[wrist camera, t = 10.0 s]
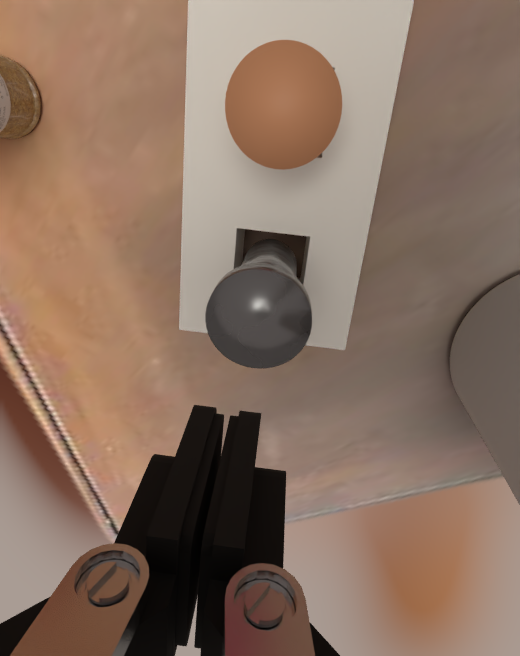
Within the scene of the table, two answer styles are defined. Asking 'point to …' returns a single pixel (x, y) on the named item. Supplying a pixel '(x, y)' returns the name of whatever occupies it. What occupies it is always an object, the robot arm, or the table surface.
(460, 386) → the cylinder vase
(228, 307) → the grey plug
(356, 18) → the block
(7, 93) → the sprinkles bottle
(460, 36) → the table surface
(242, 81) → the rust plug
